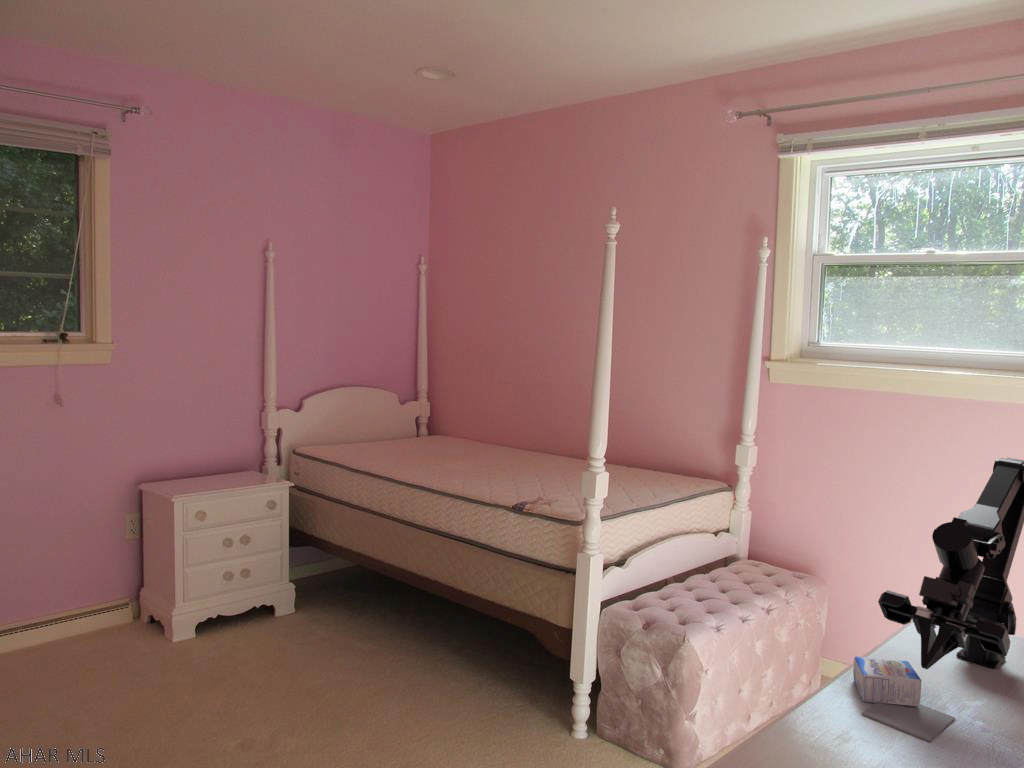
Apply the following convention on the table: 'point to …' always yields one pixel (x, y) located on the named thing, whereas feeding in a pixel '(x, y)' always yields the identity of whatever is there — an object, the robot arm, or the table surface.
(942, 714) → the mat
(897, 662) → the medicine box
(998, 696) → the table surface
